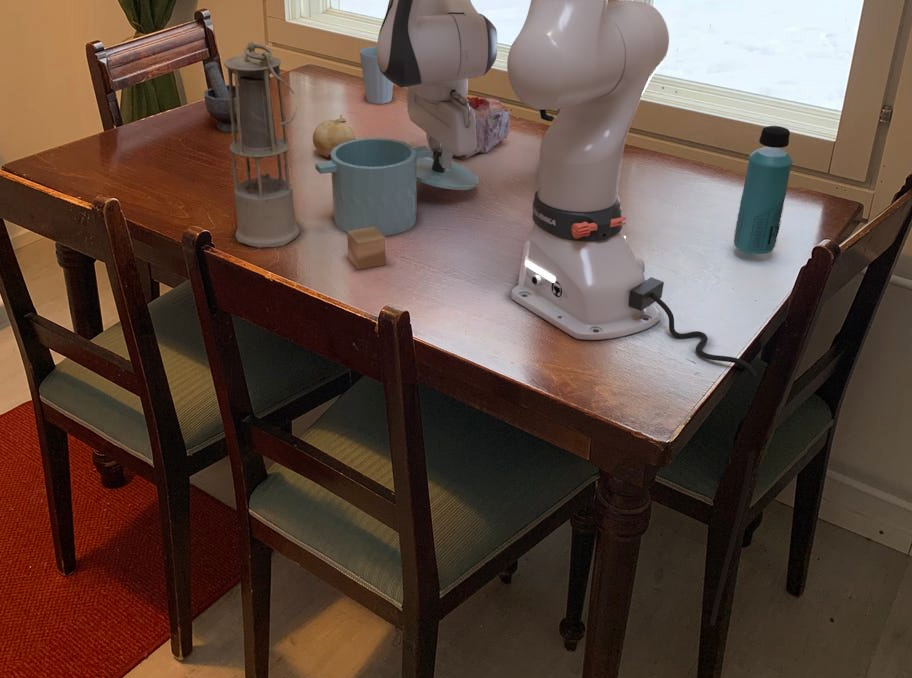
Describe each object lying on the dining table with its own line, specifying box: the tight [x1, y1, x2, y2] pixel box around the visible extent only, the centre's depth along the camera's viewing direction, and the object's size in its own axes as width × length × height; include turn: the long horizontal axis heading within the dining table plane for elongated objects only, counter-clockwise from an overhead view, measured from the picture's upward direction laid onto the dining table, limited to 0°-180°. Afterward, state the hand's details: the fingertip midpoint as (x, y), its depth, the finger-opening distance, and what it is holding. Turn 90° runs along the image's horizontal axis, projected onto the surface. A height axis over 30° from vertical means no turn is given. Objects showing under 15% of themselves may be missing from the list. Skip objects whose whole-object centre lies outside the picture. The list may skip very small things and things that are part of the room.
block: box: [346, 227, 387, 271], centre depth 153 cm, size 4×4×4 cm
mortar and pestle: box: [203, 61, 242, 132], centre depth 201 cm, size 11×9×12 cm
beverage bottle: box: [733, 125, 793, 255], centre depth 151 cm, size 6×7×20 cm
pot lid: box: [417, 147, 480, 191], centre depth 174 cm, size 15×15×5 cm
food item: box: [452, 96, 511, 161], centre depth 192 cm, size 14×8×10 cm, turn 142°
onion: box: [312, 114, 356, 159], centre depth 190 cm, size 8×8×7 cm
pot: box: [314, 137, 431, 237], centre depth 164 cm, size 14×19×12 cm
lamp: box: [223, 41, 301, 249], centre depth 153 cm, size 10×13×30 cm
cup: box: [359, 45, 394, 105], centre depth 216 cm, size 8×8×10 cm
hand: (440, 162), depth 174 cm, fingers closed on pot lid, 2 cm apart
